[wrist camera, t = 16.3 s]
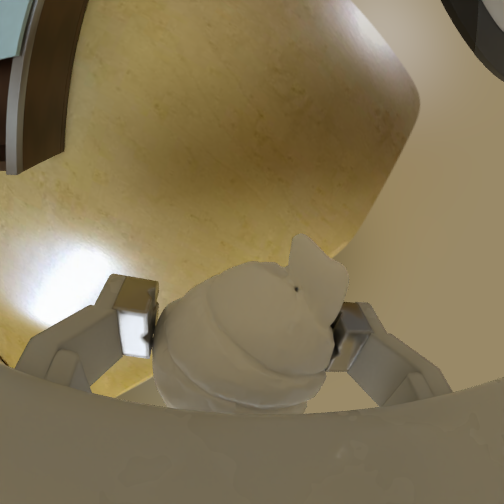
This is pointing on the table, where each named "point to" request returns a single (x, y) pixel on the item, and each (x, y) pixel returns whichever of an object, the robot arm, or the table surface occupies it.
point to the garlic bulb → (252, 336)
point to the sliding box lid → (12, 26)
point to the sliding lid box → (38, 85)
